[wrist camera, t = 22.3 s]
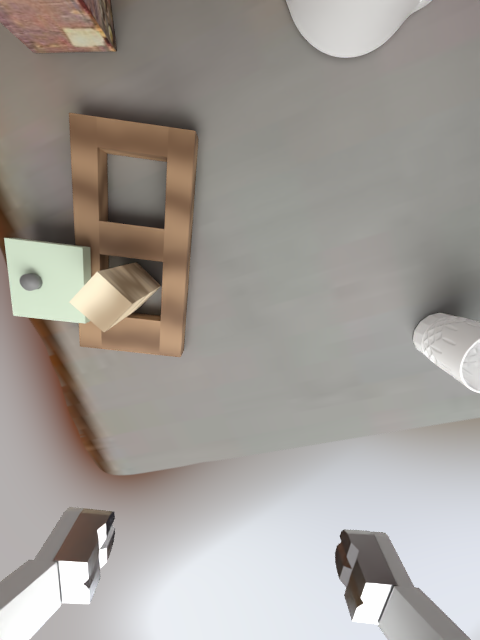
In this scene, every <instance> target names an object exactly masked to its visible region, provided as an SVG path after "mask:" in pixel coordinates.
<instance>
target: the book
mask: <svg viewBox="0 0 480 640" xmlns="http://www.w3.org/2000/svg"><path fill="white" fill-rule="evenodd" d="M0 22H1V23H2V24H3V25H4V26H5V27H6V28H7V29H8V30H9V31H10V32H12V33H13V34H14V35H15V36H16V37H17V38H18V39H19V40H20V41H21V42H23V43H24V44H25V45H26V46H27V47H28V48H29V49H30V50H31V51H32V52H34V53H61V52H106V51H117V49H116V41H115V32H114V24H113V16H112V7H111V0H0Z"/></svg>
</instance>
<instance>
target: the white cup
mask: <svg viewBox="0 0 480 640" xmlns="http://www.w3.org/2000/svg"><path fill="white" fill-rule="evenodd" d="M413 342H414V344H415V347H416V349H417V350H419V351H420V352H421V353H422V354H424V355H425V356H427V357H428V358H429V360H431V361H432V362H433V363H435V364H436V365H437V366H438V367H440V368H441V369H443V370H444V371H445V372H447V373H448V374H450V375H451V376H452V377H454V378H455V379H457V380H458V381H459V382H461V383H462V384H464V385H465V386H466V387H468V388H469V389H471V390H472V391H475V392H478V393H480V322H478V321H475V320H471V319H466V318H463V317H457V316H453V315H450V314H445V313H436V314H432V315H429V316H427V317H426V318H424V319H423V320H422V321H420V323H419V324H418V326H417V327H416V329H415V330H414V336H413Z"/></svg>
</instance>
